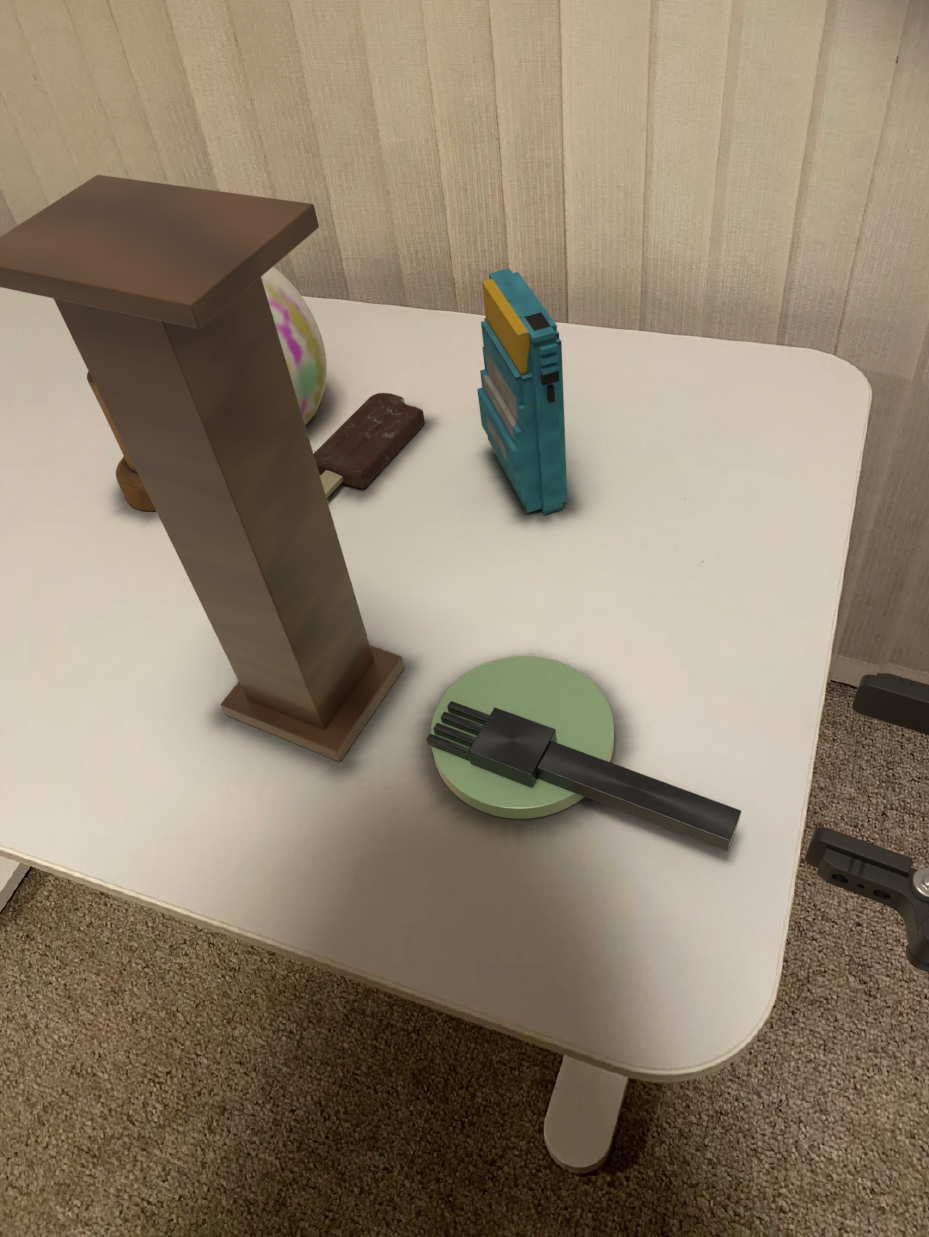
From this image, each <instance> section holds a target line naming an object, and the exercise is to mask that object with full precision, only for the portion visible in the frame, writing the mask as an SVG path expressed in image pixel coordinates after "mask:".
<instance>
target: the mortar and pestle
mask: <svg viewBox="0 0 929 1237" xmlns="http://www.w3.org/2000/svg"><path fill="white" fill-rule="evenodd" d="M86 380H87V383H88V385H89V386H90V388H91V391H92V393H93V395H94V396H95V398H96V400H97V402H98V404H99V407H100V410H102V413H103V415H104V417H105V419H106V421H107V423H108V425H109V427H110V429H111V432H112V434H113V436H114V439H115V440H116V442H117V445H118V447H119V450H120V451H121V454H122V455H123V456H122V458H121V460H120V461H119V462H118V464H117V467H116V469H115V478H116V481H117V483H118V486H119V488H120V490H121V492H122V494H123V496H124V499H125V500H126V501H127V503H128V504H129V506H131V507H133V508H135V509H138V510H141V511H145V512H157V511H156V509H155V507H154V505H153V503H152V501H151V499H150V497H149V495H148V493H147V491H146V489H145V487H144V485H143V483H142V481H141V478H140V476H139V474H138V472H137V470H136V468H135V466H134V464H133V462H132V460H131V458H130V456H129V454H128V452H127V450H126V447H125V445H124V443H123V441H122V439H121V437H120V435H119V433H118V431H117V429H116V427H115V425H114V423H113V421H112V419H111V416H110V414H109V412H108V410H107V408H106V406H105V404H104V402H103V400H102V398H101V396H100V394H99V392H98V390H97V388H96V385H95V383H94V381H93V379H92V377H91V375H90V373H89V371H88V370H87V374H86Z"/></svg>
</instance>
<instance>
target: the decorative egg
mask: <svg viewBox="0 0 929 1237" xmlns="http://www.w3.org/2000/svg"><path fill="white" fill-rule="evenodd" d="M261 278H262V282H263V285H264V288H265V292H266V295H267V299H268V302H269V305H270V309H271V312H272V315H273V319H274V322H275V326H276V329H277V332H278V336H279V339H280V343H281V346H282V349H283V353H284V356H285V359H286V363H287V366H288V370H289V373H290V376H291V380H292V383H293V387H294V390H295V393H296V397H297V400H298V403H299V407H300V410H301V414H302V417H303V420H304V424H305V426H307V424H308V423H309V422H310V421H311V420H312V419H313V418H314V417H315V414H316V412H317V411H318V409H319V407H320V404H321V402H322V400H323V396H324V394H325V390H326V383H327V374H328V370H327V369H328V368H327V355H326V349H325V344H324V341H323V337H322V333H321V331H320V328H319V325H318V322H317V321H316V318H315V317H314V315H313V313H312V310H311V309H310V307H309V306H308V304H307V302H306V301H305V299H304V298H303V296H302V295H301V293H300V292H299V291H298V290H297V288H296V287H295V285H293V283H292V282H291V281H290V280H289V279H288V278H287V277H286V276H285V275H284V274H283V273H281V271H280V270H278V269H277V268H275V266H273V267H272V268H271V269H270V270H268V271H267V272H266V273H265V274H264V275H263V276H261Z"/></svg>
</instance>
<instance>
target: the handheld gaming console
mask: <svg viewBox="0 0 929 1237" xmlns="http://www.w3.org/2000/svg"><path fill="white" fill-rule="evenodd" d="M481 288H482V296H483V304H484V316H485V317H484V320H483V321H481V322H480V326H481V335H482V343H483V344H482V345H483V346H482V356H483V365H484V366H483V367H484V368H483V369H480V370H479V372H480V373H479V374H480V383H481V387H479V388H477V390H476V391H477V397H478V407H479V414H480V424H481V427H482V429H483V430H484V432H485V435H486V436H487V440H488V442H489V444H490V446H491V448H492V449H493V451H494V454H495V455H494V456H495V458H496V459H497V461H498V463H499V465H500V466H501V468H502V470H503V472H504V474H505V476H506V478H507V480H508V481H509V484H510V485H511V487H512V489H513V491H514V493H515V494H516V497H517V498H518V500H519V502H520V504H521V506H522V507H523V509H524V512H525V513H526V514H530V513H533V512H536V511H539V510H540V511H541V513H542V514H543V516H547V515H550V514H554V513H557V512H560V511H563V510H564V503H567V502H568V479H567V478H568V477H567V476H568V475H567V453H566V450H567V449H566V429H565V428H566V426H565V422H566V421H565V400H564V398H565V397H564V375H563V374H564V373H563V372H564V371H563V344H562V343H563V342H562V340H561V339H560V332H559V331H558V324H557V323H556V322H555V320H554V319H553V317H552V316H551V315H550V313H549V312H548V311H547V309H546V308H545V307H544V305H543V304H542V303H541V301H540V300H539V299H538V297H537V296H536V294H535V293H534V292H533V290H532V289H531V287H530V286H529V285H528V283H527V281H525V280H524V278H523V276H522V275H521V273H519V271H516V272H512V270H511V268H510V267H509V268H508V267H507V268H505V269H501V270H498V271H493V272H490V273H488V278H487V279H485V280H481Z"/></svg>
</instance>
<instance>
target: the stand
mask: <svg viewBox="0 0 929 1237" xmlns="http://www.w3.org/2000/svg"><path fill="white" fill-rule="evenodd" d="M319 227H320V225H319V221H318V216H317V212H316V208H315V205H314V204H313V203H308V202H302V201H295V200H287V199H280V198H272V197H264V196H257V195H250V194H242V193H235V192H228V191H222V190H213V189H207V188H198V187H192V186H184V185H177V184H169V183H161V182H153V181H148V180H141V179H140V180H139V179H133V178H124V177H117V176H111V175H110V176H109V175H102V174H96V175H95V176H93V177H91V178H90V179H88V180H86V181H85V182H84V183H81V184H80V185H79V186H78V187H76V188H74V189H73V190H71V191H70V192H68V193H66V194H65V195H63V196H62V197H60V198H59V199H57V200H55V201H54V202H52V203H51V204H48V206H46V207H45V208H43V209H42V210H39V212H37V213H35V214H34V215H32V216H31V217H29V218H28V219H26V220H24V221H23V222H21V223H20V224H18V225H16V226H15V227H14V228H12V229H11V230H9V231H7V232H5V233H4V234H3V235H1V236H0V288H3V289H7V290H11V291H16V292H21V293H25V294H31V295H35V296H40V297H44V298H45V297H46V298H50V299H53V301H54V303H55V305H56V307H57V309H58V312H59V313H60V315H61V318H62V319H63V321H64V324H65V325H66V328H67V330H68V332H69V334H70V337H71V338H72V340H73V343H74V344H75V347H76V348H77V350H78V353H79V354H80V356H81V359H82V360H83V363H84V365H85V367H86V369H87V372H88V371H89V373H90V375H91V377H92V379H93V381H94V383H95V385H96V388H97V390H98V392H99V394H100V396H101V398H102V400H103V402H104V404H105V406H106V408H107V410H108V412H109V414H110V416H111V419H112V421H113V423H114V425H115V427H116V429H117V431H118V433H119V435H120V437H121V439H122V441H123V443H124V445H125V447H126V450H127V452H128V454H129V456H130V458H131V460H132V462H133V464H134V466H135V468H136V470H137V472H138V474H139V476H140V478H141V481H142V483H143V485H144V487H145V489H146V491H147V493H148V495H149V497H150V499H151V501H152V503H153V505H154V507H155V509H156V511H155V512H156V514H157V516H158V518H159V520H160V522H161V524H162V526H163V528H164V530H165V532H166V534H167V536H168V538H169V540H170V542H171V545H172V546H173V549H174V550H175V553H176V555H177V557H178V559H179V561H180V563H181V565H182V567H183V570H184V572H185V574H186V575H187V578H188V580H189V582H190V584H191V586H192V588H193V590H194V592H195V594H196V596H197V598H198V600H199V603H200V604H201V607H202V609H203V611H204V613H205V615H206V617H207V620H208V621H209V623H210V625H211V627H212V629H213V632H214V633H215V636H216V637H217V640H218V641H219V644H220V646H221V648H222V650H223V652H224V654H225V656H226V659H227V661H228V662H229V665H230V666H231V669H232V670H233V671H232V672H234V675H235V677H236V679H237V681H238V682H236V684H235V685H234V686H233V688H232V689H231V690H230V692H228V693H227V695H226V697H225V698H224V699H223V700H222V701H221V703H220V707H221V709H222V711H223V713H224V715H225V716H228V717H230V718H232V719H234V720H237V721H240V722H242V723H245V724H247V725H249V726H252V727H254V728H257V729H259V730H261V731H264V732H266V733H269V734H271V735H274V736H276V737H279V738H281V739H283V740H286V741H288V742H291V743H293V744H296V745H298V746H301V747H303V748H305V749H308V750H310V751H312V752H314V753H318V754H320V755H323V756H325V757H327V758H330V759H331V760H335V761H337V762H342V760H343V759H344V757H345V756H346V754H347V752H348V751H349V750H350V749H351V747H352V745H353V744H354V743H355V741H356V739H357V738H358V737H359V735H360V734H361V732H362V730H363V729H364V727H365V726H366V725H367V723H368V722H369V721H370V719H371V718H372V716H373V714H374V713H375V712H376V710H377V708H378V707H379V706H380V704H381V703H382V701H383V700H384V698H385V697H386V695H387V694H388V692H389V691H390V689H391V688H392V687H393V685H394V684H395V682H396V681H397V679H398V678H399V676H401V673H402V672H403V671H404V669H405V663H404V660H403V656H402V655H400V654H396V653H393V652H390V651H387V650H384V649H382V648H379V647H376V646H373V645H371V644H370V641H369V637H368V634H367V631H366V627H365V624H364V621H363V620H364V619H363V617H362V614H361V610H360V607H359V604H358V601H357V597H356V594H355V590H354V587H353V584H352V580H351V576H350V573H349V570H348V566H347V563H346V560H345V556H344V553H343V550H342V546H341V542H340V539H339V535H338V533H337V529H336V526H335V523H334V522H335V521H334V519H333V516H332V512H331V508H330V504H329V502H328V498H326V495H325V492H324V488H323V485H322V481H321V478H320V476H321V475H319V471H318V468H317V464H316V461H315V458H314V451H313V447H312V445H311V441H310V437H309V434H308V431H307V427H306V425H305V424H304V420H303V417H302V414H301V410H300V407H299V403H298V400H297V397H296V393H295V390H294V387H293V383H292V380H291V376H290V373H289V370H288V366H287V363H286V359H285V356H284V353H283V349H282V346H281V343H280V339H279V336H278V332H277V329H276V326H275V322H274V319H273V315H272V312H271V309H270V305H269V302H268V299H267V295H266V292H265V288H264V285H263V282H262V278H261V276H263V275H264V274H265V273H266V272H267V271H268V270H270V269H271V268H272V267H275V266H276V265H277V264H278V263H279V262H280V261H281V260H283V259H284V258H285V257H286V256H287V255H289V254H290V253H291V252H292V251H294V250H295V249H296V248H297V247H298V246H299V245H300V244H302V242H304V241H305V240H306V239H308V238H309V237H310V236H311V235H312V234H313V233H314V232H316V231H317V230H318V229H319Z"/></svg>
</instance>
